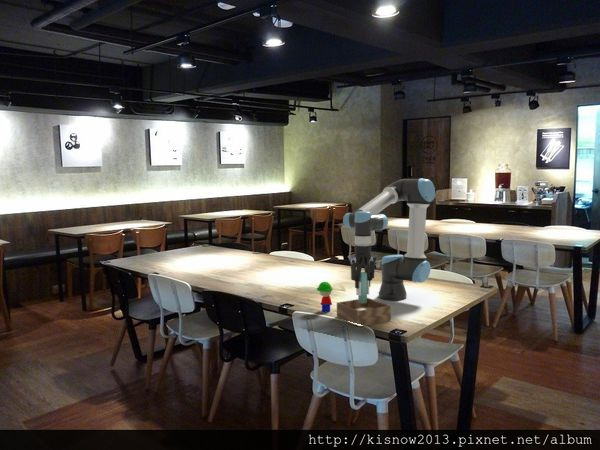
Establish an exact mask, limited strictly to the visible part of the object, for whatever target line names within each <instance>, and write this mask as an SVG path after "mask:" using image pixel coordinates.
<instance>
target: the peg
mask: <svg viewBox="0 0 600 450" xmlns="http://www.w3.org/2000/svg"><path fill="white" fill-rule="evenodd" d="M360 282H361V296H359V295H357V296H358V298H357V299H358V302H359V303H367V298H368V294H367V272H365V271H361V275H360Z"/></svg>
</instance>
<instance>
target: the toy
mask: <svg viewBox="0 0 600 450" xmlns="http://www.w3.org/2000/svg"><path fill="white" fill-rule="evenodd" d="M333 290H334V289H333V287H332V285H331V284H330V283H329V282H328V281H322V282H320V283H319V285H318V287H316V291H319V294H320V295H321V296H322V298H321V302H320V305H321V312H325V313H331V305H333V303H332V299H331V296H330V295H331V293H332V291H333Z"/></svg>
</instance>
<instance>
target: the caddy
mask: <svg viewBox="0 0 600 450" xmlns="http://www.w3.org/2000/svg"><path fill="white" fill-rule="evenodd" d="M391 310H392V309H391V305H389V304H386V303H384V302H380V301H378V300H376V299H373V298H370V297H367V303H359V302H358V298H356V299H351V300H346V301H345V300H344V301H339V302H336V318H338V319H340V320H342V319H343V320H342V321H344V320H346V321H350V322H353V323H357V324H361V325H365V326H370V325H375V324H380V323H386V322H391V321H392V320H391V319H392V317H391V315H392V314H391V312H392V311H391ZM346 321H345V322H346ZM365 326H364V327H365Z"/></svg>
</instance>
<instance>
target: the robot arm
mask: <svg viewBox="0 0 600 450" xmlns="http://www.w3.org/2000/svg"><path fill="white" fill-rule="evenodd" d="M435 197H436V188H435V186H434V183H433V181H431V180H430V179H427V178H403V179H401V178H400V179H399V180H397V181H394V182H392V183H390V184H389V185H387V186H386V187H384V189H383V190H382V192H381V193H379V194H378V195H376V196H375V197H373V198H372V199H371V200H370V201H368V202H366V203H365V204H364V205H363V206H360V208H358V209H357V210H355V211H354V212H346V213H345V214H344V215H343V219H342V222H343V223H342V224H343V226H344V227H345V228H347V229H354V244H355V245H354V253H355V254H354V257H353V258H352V259H349V263H350V277H351V278H350V279H351V281H354V288H355V291H356V292H355V293H356V295H357V296H358V295H359V296H361V282H360V275H361V272H362V268H364V269H363V270H364V272H367V295H370V287H371V281H372V280H373V279H375V270H376V269H375V267H376V265H375V264H376V259H377V258H376V257H374V256H372V255H371V254H372V246H371V244H372V232H373V231H382V230H384V229H386V228H387V227H388V224H389V220H388V219H389V218H388V217H387V216H386V215H385V214H383V213H380V212H382V211H383V210H384V209H385V208H387V207H388V206H391V204H392V205H394V204H395V203H397V202H400V201H401V202H403V201H404V202H406V205H407V206H408V207H409V213H408V214H409V215H408V231H407V232H408V233H407V247H406V249H407V250H406V253H405V254H404V255H403V254H391V255H386V256H385V255H384V256H383V257H382V258H381V285H380V288H379V290H378V298H380V299H382V300H386V301H399V300H402V301H403V300H404V299H406V298H407V295H408V294H407V291H406V288H405V284H404V281H407V282H413V283H419V284H420V283H421V284H422V283H425V282H426V281H427V280H428V278H429V277H430V274H431V269H432V267H431V264H430V262H429V261H427V256H426V255H425V239H426V225H427V224H426V223H427V222H426V221H427V208H428V207H430V205H431V204H430V203H431V202H433V201H434V199H435Z"/></svg>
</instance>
